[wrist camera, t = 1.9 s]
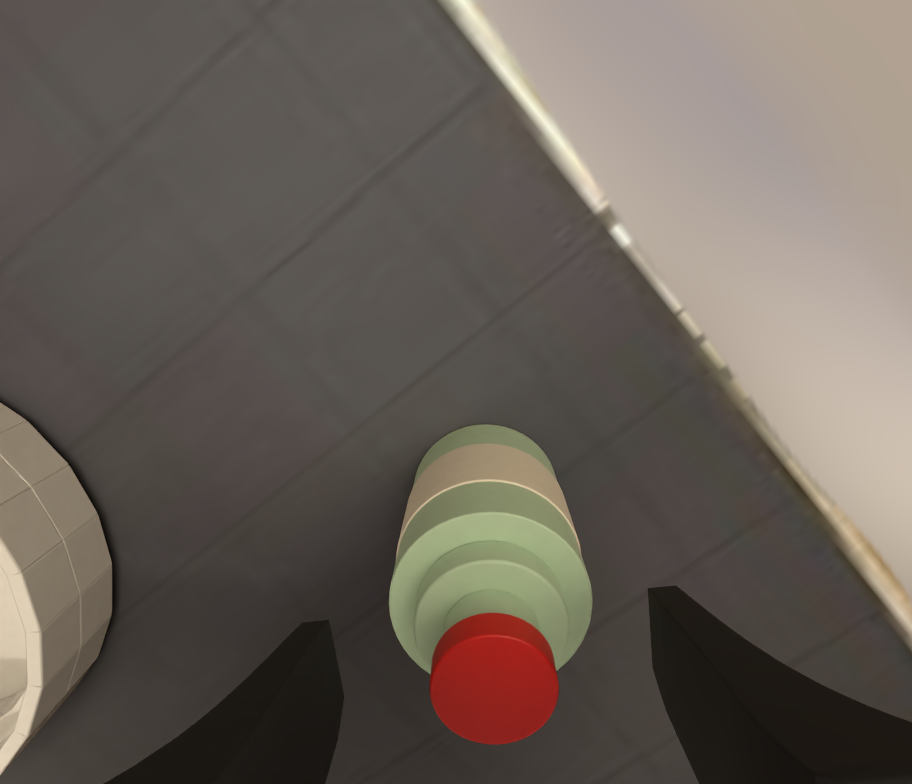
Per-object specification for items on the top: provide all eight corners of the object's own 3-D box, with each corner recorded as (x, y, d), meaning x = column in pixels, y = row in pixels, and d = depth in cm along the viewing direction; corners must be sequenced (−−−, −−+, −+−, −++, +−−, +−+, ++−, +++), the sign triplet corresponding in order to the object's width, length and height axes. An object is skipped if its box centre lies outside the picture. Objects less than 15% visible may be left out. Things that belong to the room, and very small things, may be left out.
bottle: (551, 414, 22) (613, 564, 12) (564, 550, 23) (629, 784, 13) (402, 431, 22) (347, 591, 12) (423, 565, 23) (388, 804, 14)
